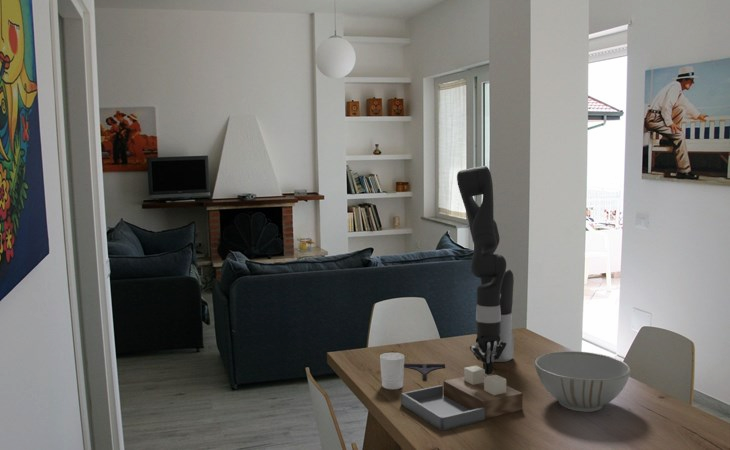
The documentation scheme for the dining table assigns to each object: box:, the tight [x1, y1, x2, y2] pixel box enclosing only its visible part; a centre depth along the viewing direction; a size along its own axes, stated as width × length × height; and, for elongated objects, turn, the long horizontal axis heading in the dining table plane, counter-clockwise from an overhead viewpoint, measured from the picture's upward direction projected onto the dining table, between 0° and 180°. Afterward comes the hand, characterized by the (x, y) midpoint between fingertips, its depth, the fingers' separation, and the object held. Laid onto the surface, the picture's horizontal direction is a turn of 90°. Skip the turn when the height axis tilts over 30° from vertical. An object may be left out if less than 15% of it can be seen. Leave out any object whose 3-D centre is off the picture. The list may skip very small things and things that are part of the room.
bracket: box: [404, 363, 446, 381], centre depth 224 cm, size 14×15×3 cm
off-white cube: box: [484, 374, 507, 395], centre depth 191 cm, size 4×4×4 cm
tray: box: [400, 384, 485, 431], centre depth 189 cm, size 14×22×4 cm, turn 27°
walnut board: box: [443, 375, 524, 419], centre depth 195 cm, size 14×20×5 cm
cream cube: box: [463, 365, 486, 385], centre depth 200 cm, size 4×4×4 cm
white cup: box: [379, 352, 405, 390], centre depth 211 cm, size 8×8×10 cm
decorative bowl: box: [534, 350, 631, 413], centre depth 193 cm, size 27×27×12 cm
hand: (488, 373), depth 202 cm, fingers closed
